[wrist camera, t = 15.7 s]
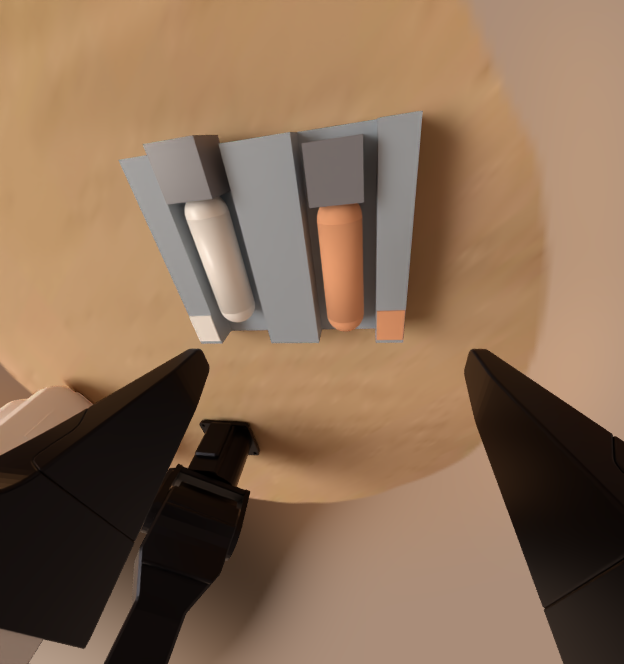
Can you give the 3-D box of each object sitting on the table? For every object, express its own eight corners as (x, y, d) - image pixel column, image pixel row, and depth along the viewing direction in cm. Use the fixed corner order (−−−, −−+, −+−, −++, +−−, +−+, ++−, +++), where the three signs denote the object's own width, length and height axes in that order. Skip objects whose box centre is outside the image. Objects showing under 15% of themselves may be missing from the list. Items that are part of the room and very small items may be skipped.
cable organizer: (17, 386, 37) (-100, 471, 28) (66, 374, 33) (-49, 467, 24) (100, 449, 44) (30, 532, 35) (147, 444, 41) (84, 536, 32)
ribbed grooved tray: (399, 320, 22) (403, 343, 19) (216, 324, 25) (200, 344, 23) (413, 113, 14) (422, 110, 12) (149, 156, 17) (117, 160, 15)
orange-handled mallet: (365, 317, 21) (365, 340, 19) (329, 318, 21) (325, 340, 19) (363, 133, 14) (362, 133, 12) (310, 141, 15) (301, 143, 13)
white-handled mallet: (264, 310, 22) (252, 330, 20) (231, 311, 22) (217, 331, 20) (217, 135, 15) (192, 135, 13) (173, 142, 16) (142, 144, 14)
